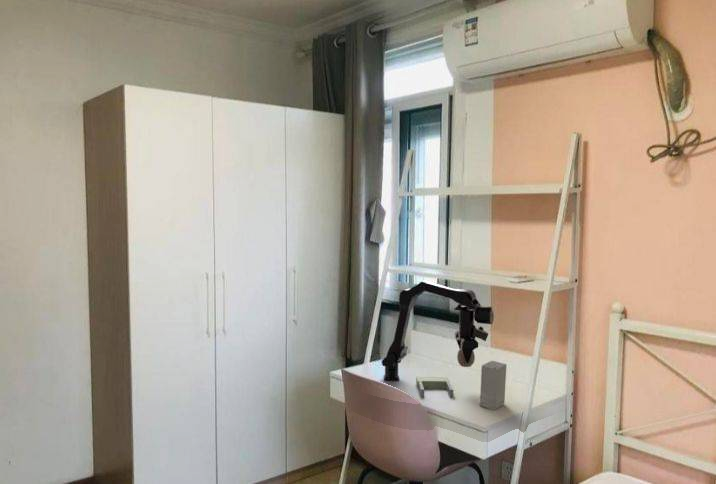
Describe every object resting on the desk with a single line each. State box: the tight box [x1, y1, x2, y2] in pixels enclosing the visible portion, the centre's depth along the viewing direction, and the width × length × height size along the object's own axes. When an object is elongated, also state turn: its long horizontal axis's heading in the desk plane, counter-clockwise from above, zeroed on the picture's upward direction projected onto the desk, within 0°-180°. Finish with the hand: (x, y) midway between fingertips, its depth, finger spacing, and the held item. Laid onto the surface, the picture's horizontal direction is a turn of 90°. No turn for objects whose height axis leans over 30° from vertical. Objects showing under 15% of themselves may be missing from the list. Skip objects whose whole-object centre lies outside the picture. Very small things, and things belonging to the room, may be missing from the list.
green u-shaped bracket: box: [415, 376, 454, 398], centre depth 229 cm, size 17×13×3 cm
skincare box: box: [479, 360, 507, 411], centre depth 211 cm, size 8×7×16 cm
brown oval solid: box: [456, 348, 476, 368], centre depth 228 cm, size 7×7×9 cm
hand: (465, 360), depth 229 cm, fingers closed on brown oval solid, 7 cm apart
